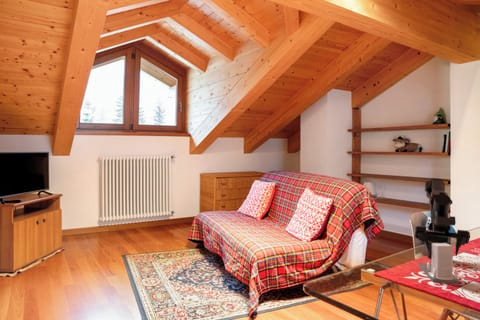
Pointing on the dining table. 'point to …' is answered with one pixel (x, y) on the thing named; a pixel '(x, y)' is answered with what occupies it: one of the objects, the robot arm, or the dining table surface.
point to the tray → (433, 277)
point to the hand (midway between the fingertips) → (442, 253)
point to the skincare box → (442, 259)
